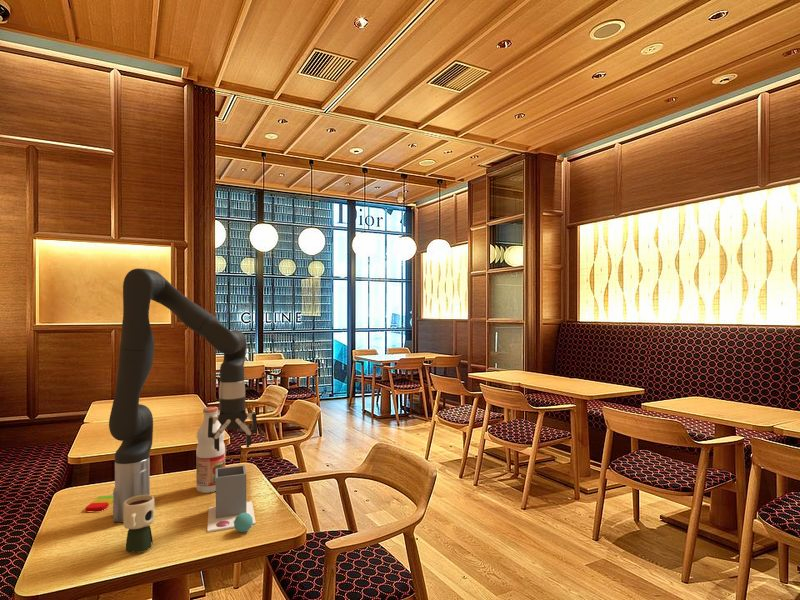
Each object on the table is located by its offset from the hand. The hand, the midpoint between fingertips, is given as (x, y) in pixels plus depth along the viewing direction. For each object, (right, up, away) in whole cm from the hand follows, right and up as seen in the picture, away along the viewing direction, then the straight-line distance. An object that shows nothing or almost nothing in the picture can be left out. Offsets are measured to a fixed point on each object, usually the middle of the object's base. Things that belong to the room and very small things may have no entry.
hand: (233, 448), depth 144 cm
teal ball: (+7, -17, -11) cm, 22 cm away
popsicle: (-45, -21, +10) cm, 51 cm away
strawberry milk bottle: (-15, -21, +20) cm, 33 cm away
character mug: (-17, -20, -20) cm, 34 cm away
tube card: (0, -20, -2) cm, 20 cm away
